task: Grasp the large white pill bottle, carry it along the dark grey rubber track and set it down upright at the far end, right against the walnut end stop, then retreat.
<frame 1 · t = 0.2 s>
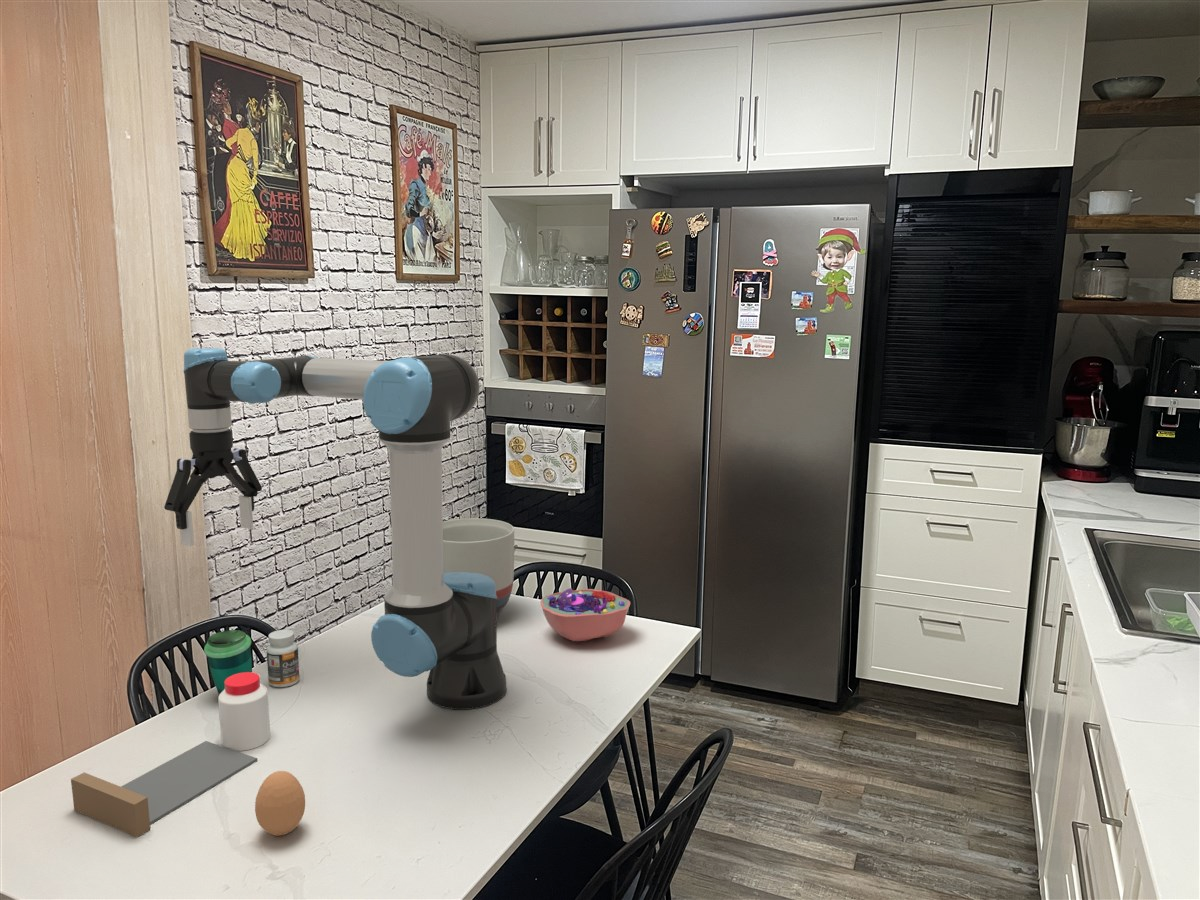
hand: (218, 536, 169), 28 cm above the table, fingers open, 13 cm apart
egg: (282, 833, 121), on the table
planter: (471, 618, 202), on the table
pill bottle: (284, 682, 168), on the table
cup: (231, 697, 162), on the table
track: (178, 781, 134), on the table
pill bottle 2: (246, 740, 146), on the table
cell model: (585, 638, 191), on the table
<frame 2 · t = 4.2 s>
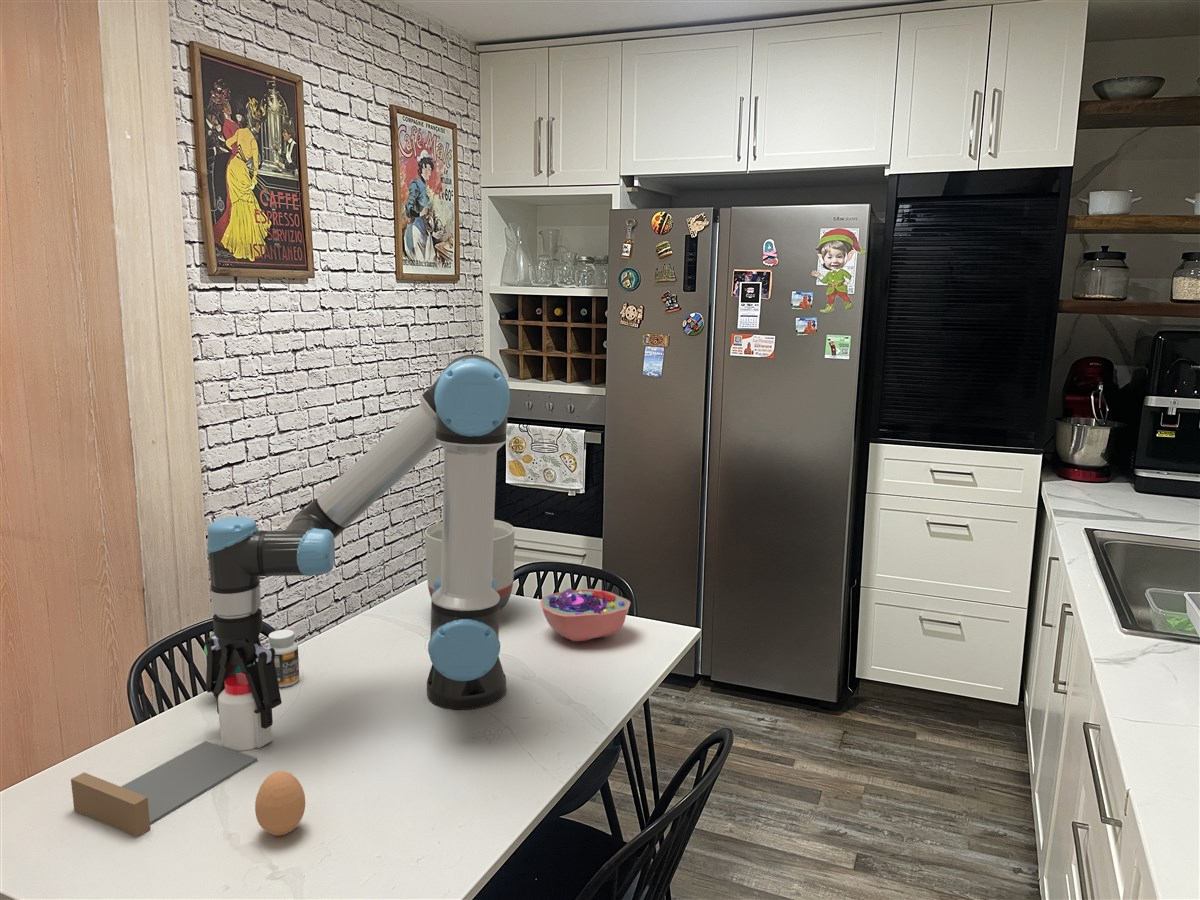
hand: (246, 737, 146), 0 cm above the table, fingers closed on pill bottle 2, 8 cm apart
pill bottle 2: (246, 740, 146), on the table, touching gripper
everything else where it was.
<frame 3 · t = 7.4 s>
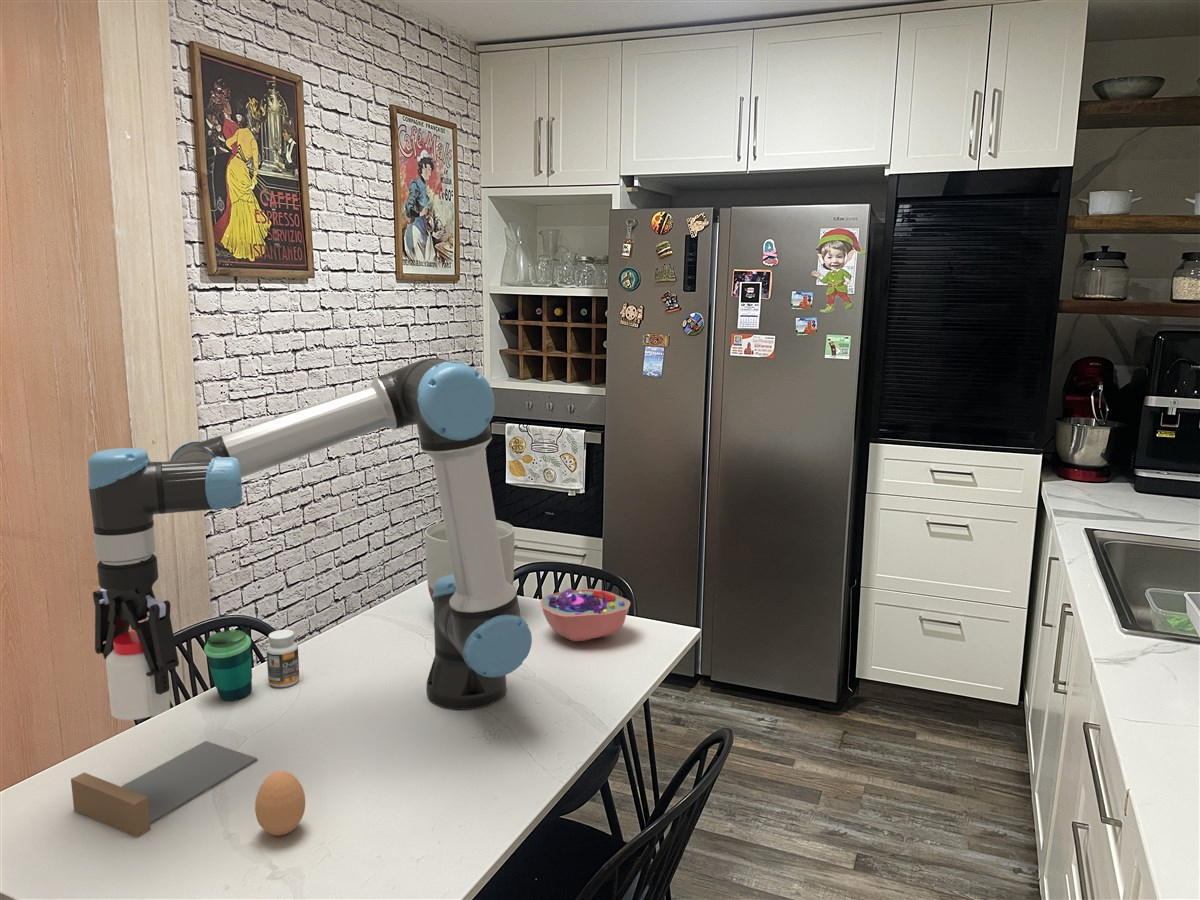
hand: (140, 705, 127), 15 cm above the table, fingers closed on pill bottle 2, 8 cm apart
pill bottle 2: (141, 708, 127), point 14 cm above the table, touching gripper
everything else where it was.
when the fingers open (2 cm above the table, at t = 10.5 s): pill bottle 2 drops 1 cm, resting on track.
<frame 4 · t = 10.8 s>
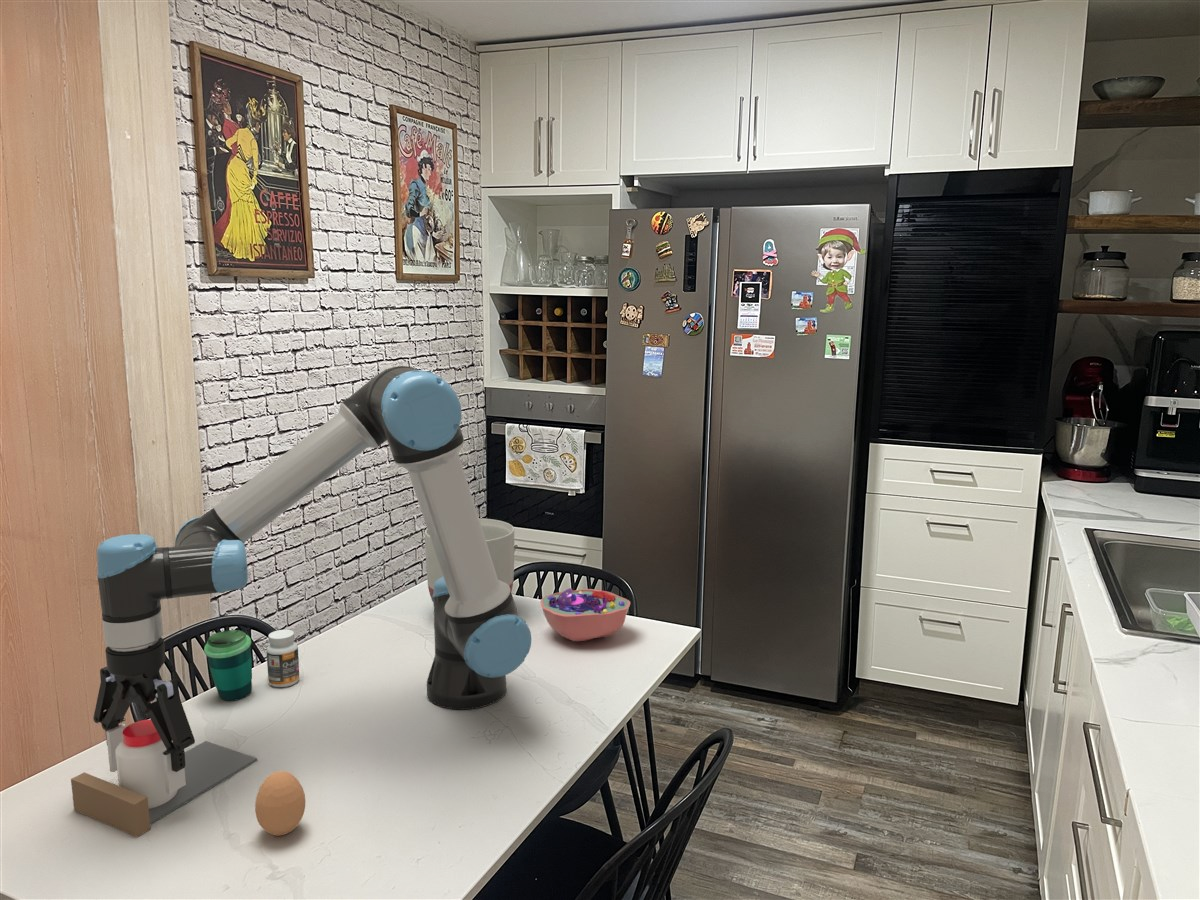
hand: (147, 778, 129), 3 cm above the table, fingers open, 12 cm apart
pill bottle 2: (149, 796, 129), resting on track
everything else where it was.
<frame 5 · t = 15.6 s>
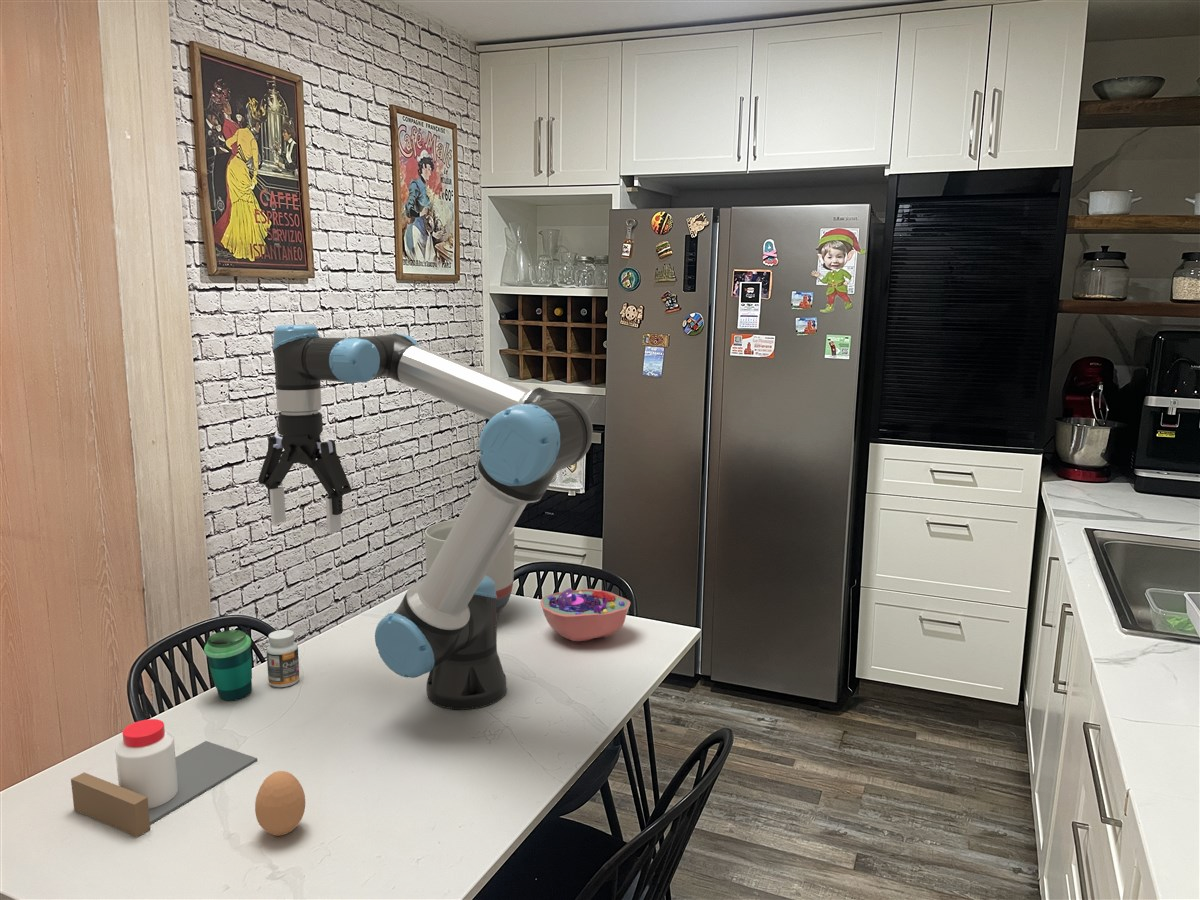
hand: (306, 527, 157), 33 cm above the table, fingers open, 13 cm apart
nothing on the table moved.
at the end: pill bottle 2 inside the target area (0.4 cm from its centre), resting on track; pill bottle 2 tilted 0°; the gripper is holding nothing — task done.
